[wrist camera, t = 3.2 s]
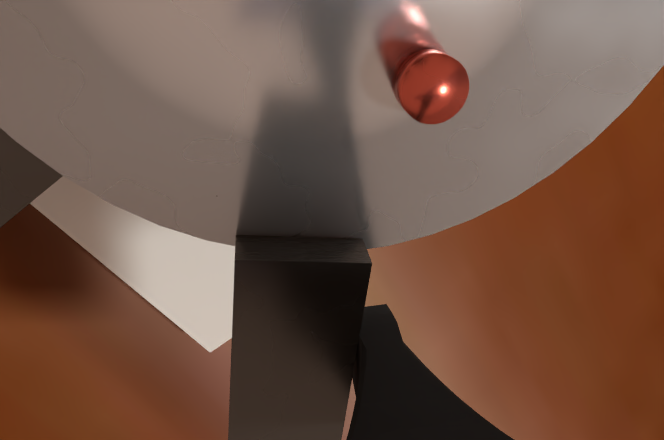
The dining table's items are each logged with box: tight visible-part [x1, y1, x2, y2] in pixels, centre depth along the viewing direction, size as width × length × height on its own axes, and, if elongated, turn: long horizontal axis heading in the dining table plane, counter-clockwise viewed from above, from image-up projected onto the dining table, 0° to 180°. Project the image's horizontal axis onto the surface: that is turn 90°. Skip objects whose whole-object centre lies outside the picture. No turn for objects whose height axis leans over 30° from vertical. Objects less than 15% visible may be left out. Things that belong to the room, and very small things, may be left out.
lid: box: [0, 0, 664, 440], centre depth 9 cm, size 22×14×2 cm, turn 173°
